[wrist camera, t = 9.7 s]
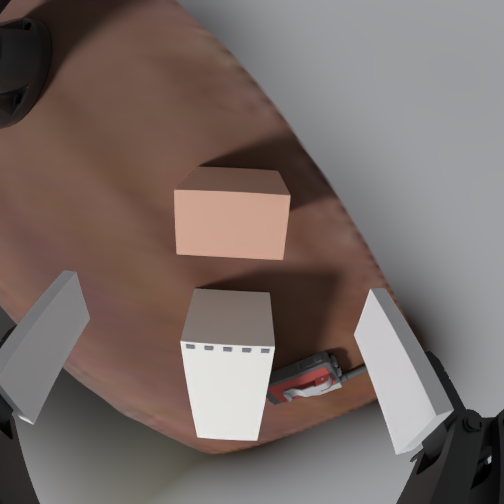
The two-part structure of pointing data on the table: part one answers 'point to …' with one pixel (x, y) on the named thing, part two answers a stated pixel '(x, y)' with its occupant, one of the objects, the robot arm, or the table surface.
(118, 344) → the table surface
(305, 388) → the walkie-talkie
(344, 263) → the table surface
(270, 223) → the peach rectangular block
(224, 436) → the block
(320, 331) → the table surface
